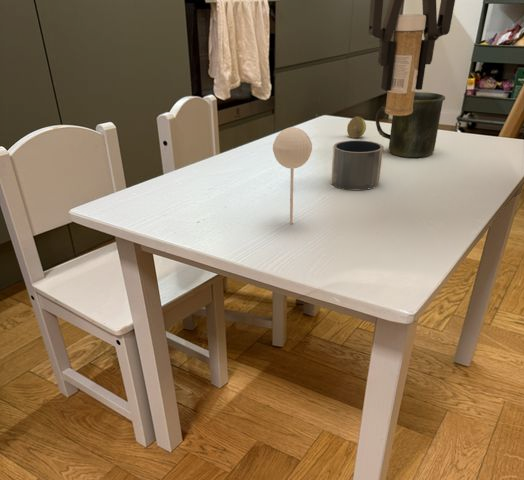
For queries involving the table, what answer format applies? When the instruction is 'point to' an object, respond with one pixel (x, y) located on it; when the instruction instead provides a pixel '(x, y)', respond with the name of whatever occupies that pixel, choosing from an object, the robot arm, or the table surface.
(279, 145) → the lollipop
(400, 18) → the sprinkles bottle
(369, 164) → the tin
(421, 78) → the robot arm
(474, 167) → the table surface
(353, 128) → the lime
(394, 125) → the mug
